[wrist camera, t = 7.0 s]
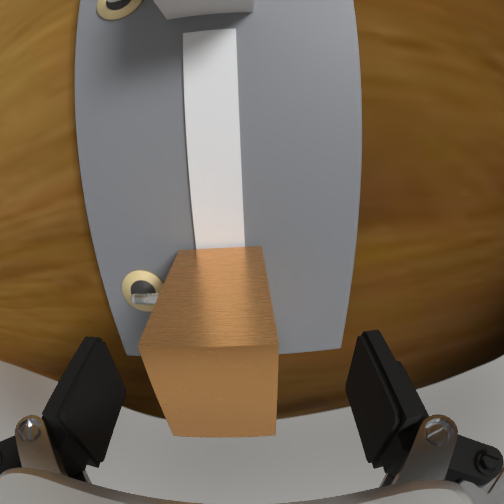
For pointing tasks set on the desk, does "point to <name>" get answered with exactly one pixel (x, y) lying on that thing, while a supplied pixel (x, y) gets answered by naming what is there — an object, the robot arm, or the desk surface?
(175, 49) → the slide rail plate
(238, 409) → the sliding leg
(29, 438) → the robot arm
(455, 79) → the desk surface
